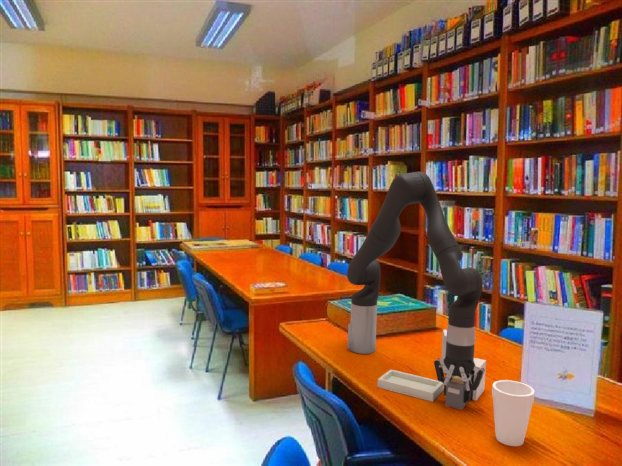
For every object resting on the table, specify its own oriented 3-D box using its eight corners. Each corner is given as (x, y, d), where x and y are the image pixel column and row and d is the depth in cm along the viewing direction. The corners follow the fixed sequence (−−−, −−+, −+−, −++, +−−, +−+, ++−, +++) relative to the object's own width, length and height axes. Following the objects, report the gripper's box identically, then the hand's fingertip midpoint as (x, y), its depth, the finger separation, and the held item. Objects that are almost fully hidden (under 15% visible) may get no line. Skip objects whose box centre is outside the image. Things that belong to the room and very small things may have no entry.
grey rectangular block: (444, 406, 141) (445, 383, 140) (459, 389, 153) (460, 368, 152) (460, 411, 139) (462, 387, 138) (474, 393, 150) (475, 371, 150)
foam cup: (526, 454, 118) (530, 399, 116) (485, 442, 123) (488, 390, 121) (533, 436, 126) (537, 385, 124) (494, 426, 131) (497, 377, 129)
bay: (448, 393, 149) (449, 363, 148) (457, 383, 157) (459, 354, 156) (476, 400, 145) (478, 369, 144) (484, 390, 153) (486, 360, 152)
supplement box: (465, 375, 164) (468, 337, 162) (441, 373, 165) (443, 335, 164) (463, 367, 171) (465, 330, 169) (440, 365, 172) (442, 328, 171)
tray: (377, 387, 153) (377, 379, 153) (390, 377, 161) (390, 369, 161) (432, 401, 144) (433, 393, 144) (443, 390, 152) (443, 382, 152)
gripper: (430, 338, 142) (427, 398, 144) (483, 349, 134) (479, 411, 136) (439, 332, 148) (436, 388, 150) (490, 341, 140) (486, 401, 142)
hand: (457, 399), depth 143 cm, fingers closed on grey rectangular block, 4 cm apart
